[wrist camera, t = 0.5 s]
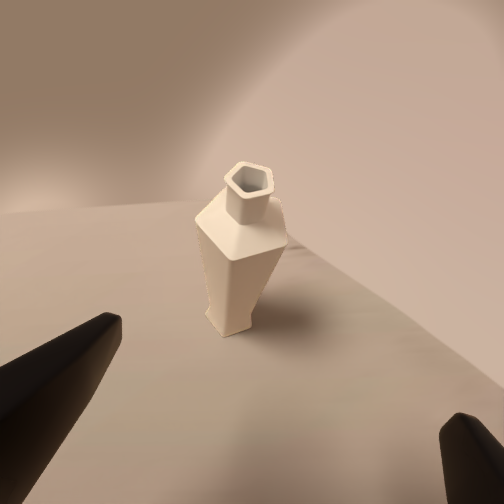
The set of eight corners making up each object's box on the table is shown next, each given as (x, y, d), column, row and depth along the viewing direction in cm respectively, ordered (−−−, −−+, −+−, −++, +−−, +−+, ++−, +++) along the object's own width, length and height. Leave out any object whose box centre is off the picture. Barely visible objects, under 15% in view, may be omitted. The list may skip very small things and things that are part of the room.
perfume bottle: (239, 353, 24) (273, 244, 11) (192, 322, 25) (177, 189, 12) (269, 307, 26) (324, 174, 14) (225, 280, 27) (240, 132, 15)
